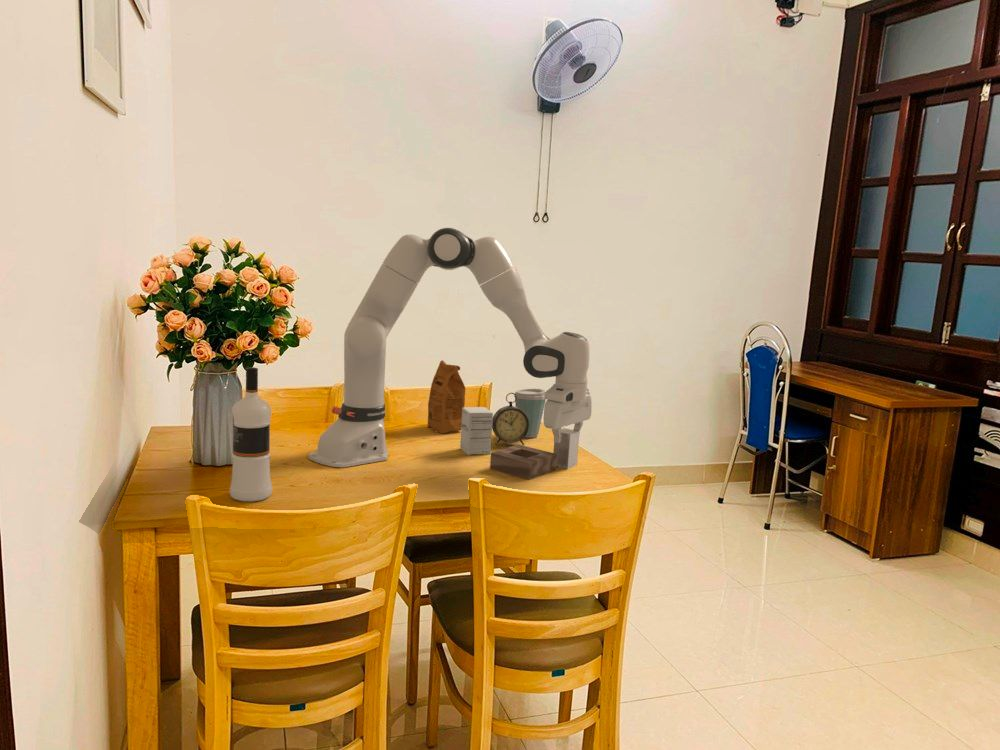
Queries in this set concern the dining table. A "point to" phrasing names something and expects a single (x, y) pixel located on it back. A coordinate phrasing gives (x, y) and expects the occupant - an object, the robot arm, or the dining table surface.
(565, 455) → the grey peg
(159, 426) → the dining table surface
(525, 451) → the pocket block
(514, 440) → the alarm clock
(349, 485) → the dining table surface
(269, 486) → the vodka
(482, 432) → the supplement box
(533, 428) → the disposable coffee cup
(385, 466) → the dining table surface
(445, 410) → the coffee package
